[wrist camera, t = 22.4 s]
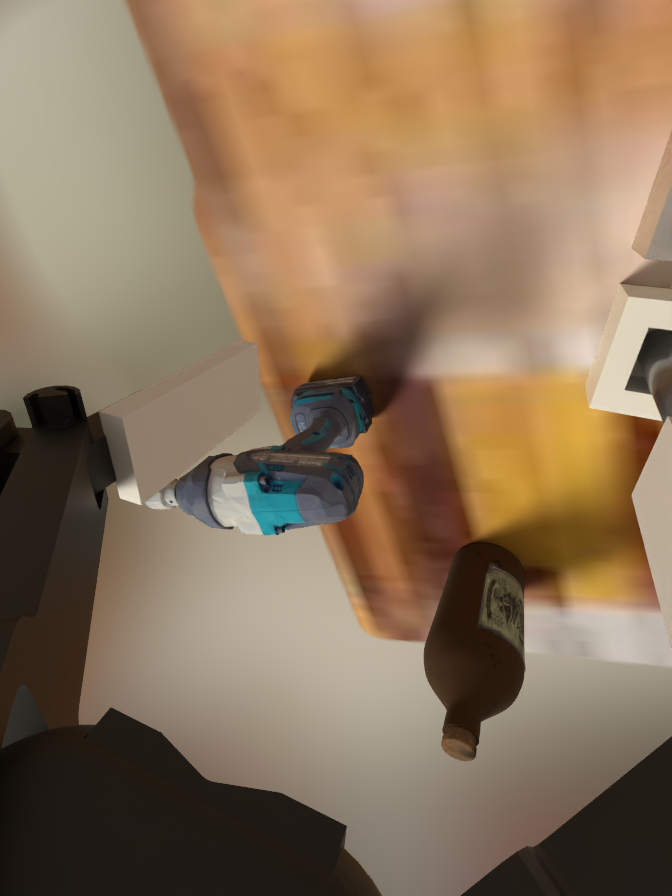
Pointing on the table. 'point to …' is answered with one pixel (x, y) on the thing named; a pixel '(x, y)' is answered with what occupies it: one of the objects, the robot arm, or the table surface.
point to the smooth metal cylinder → (658, 368)
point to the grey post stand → (658, 215)
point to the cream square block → (628, 351)
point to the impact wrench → (284, 469)
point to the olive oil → (477, 643)
